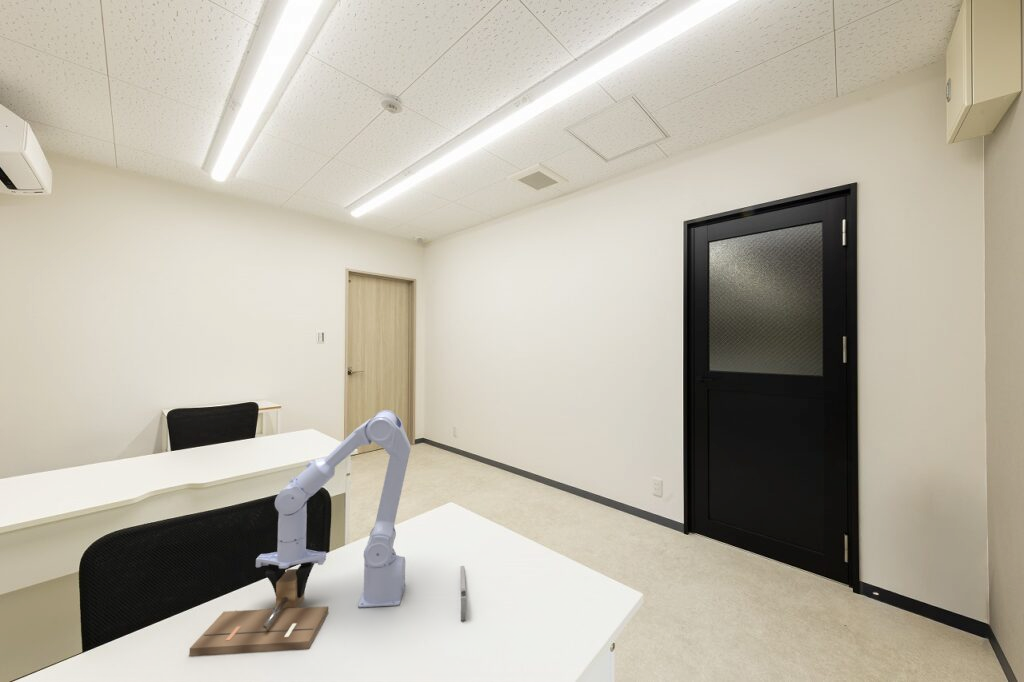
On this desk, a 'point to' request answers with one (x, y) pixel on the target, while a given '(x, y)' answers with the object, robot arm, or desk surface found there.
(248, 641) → the walnut board
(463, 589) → the caliper
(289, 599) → the marking gauge
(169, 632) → the desk surface
